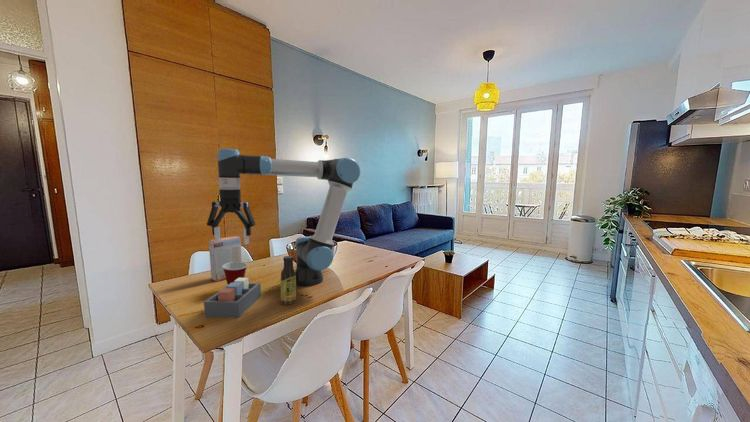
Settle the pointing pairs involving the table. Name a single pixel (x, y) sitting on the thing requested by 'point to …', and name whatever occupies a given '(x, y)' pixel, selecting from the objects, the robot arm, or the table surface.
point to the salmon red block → (226, 294)
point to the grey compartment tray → (232, 303)
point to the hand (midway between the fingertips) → (232, 243)
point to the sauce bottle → (288, 282)
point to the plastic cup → (234, 271)
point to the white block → (243, 282)
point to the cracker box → (223, 255)
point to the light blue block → (236, 287)
